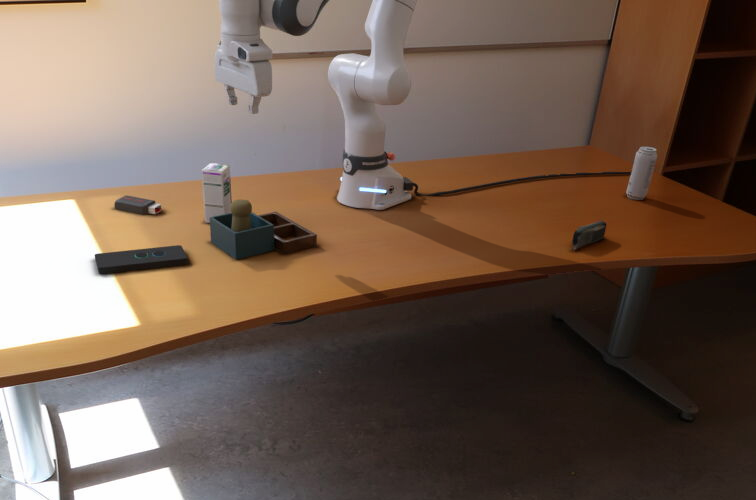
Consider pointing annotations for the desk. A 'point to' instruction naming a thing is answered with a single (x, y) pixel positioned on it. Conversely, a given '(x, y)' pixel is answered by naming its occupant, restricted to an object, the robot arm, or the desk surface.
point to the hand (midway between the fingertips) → (243, 108)
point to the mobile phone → (588, 234)
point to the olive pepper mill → (241, 215)
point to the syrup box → (216, 190)
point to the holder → (289, 234)
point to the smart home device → (140, 259)
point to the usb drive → (137, 205)
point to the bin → (242, 236)
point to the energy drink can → (641, 173)
